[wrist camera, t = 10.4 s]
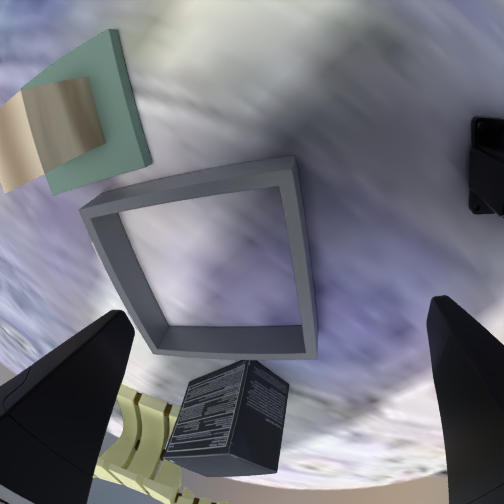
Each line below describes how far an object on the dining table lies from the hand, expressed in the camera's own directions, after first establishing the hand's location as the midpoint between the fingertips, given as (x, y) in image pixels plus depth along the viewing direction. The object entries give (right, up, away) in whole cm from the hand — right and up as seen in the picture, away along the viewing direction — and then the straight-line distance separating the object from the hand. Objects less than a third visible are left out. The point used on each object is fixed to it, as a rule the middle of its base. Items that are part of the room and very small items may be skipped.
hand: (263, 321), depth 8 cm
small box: (-2, -13, +23) cm, 27 cm away
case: (-3, +1, +15) cm, 15 cm away
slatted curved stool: (-16, -25, +34) cm, 45 cm away
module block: (-13, +11, +9) cm, 19 cm away
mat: (-13, +12, +10) cm, 20 cm away
